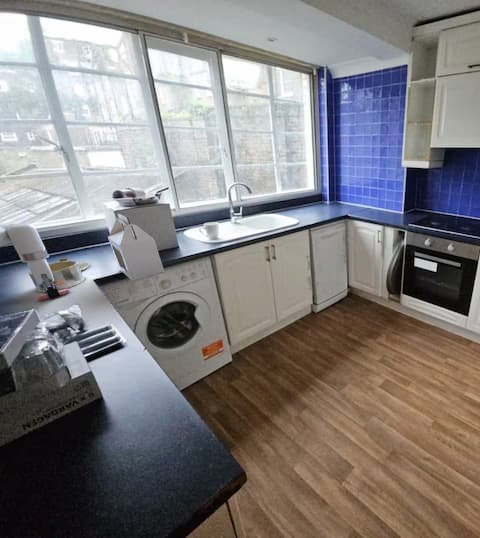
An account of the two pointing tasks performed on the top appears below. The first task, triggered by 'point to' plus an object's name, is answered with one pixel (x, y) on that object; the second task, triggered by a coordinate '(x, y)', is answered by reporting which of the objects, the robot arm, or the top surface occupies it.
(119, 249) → the gable box
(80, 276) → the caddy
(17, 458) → the top surface
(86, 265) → the caddy lid
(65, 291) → the red rod
